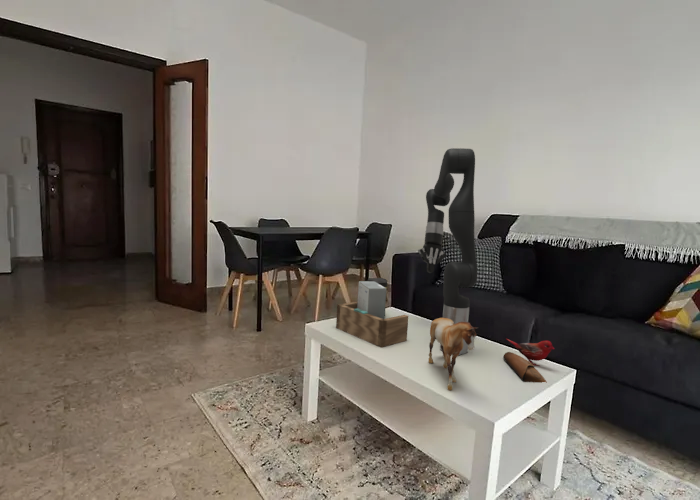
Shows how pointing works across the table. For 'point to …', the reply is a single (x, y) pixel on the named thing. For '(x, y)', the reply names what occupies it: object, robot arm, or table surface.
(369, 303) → the hard drive box
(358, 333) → the wooden box
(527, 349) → the decorative bird figurine
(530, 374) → the sunglasses case
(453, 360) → the horse figurine
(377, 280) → the coffee jar
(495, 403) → the table surface
